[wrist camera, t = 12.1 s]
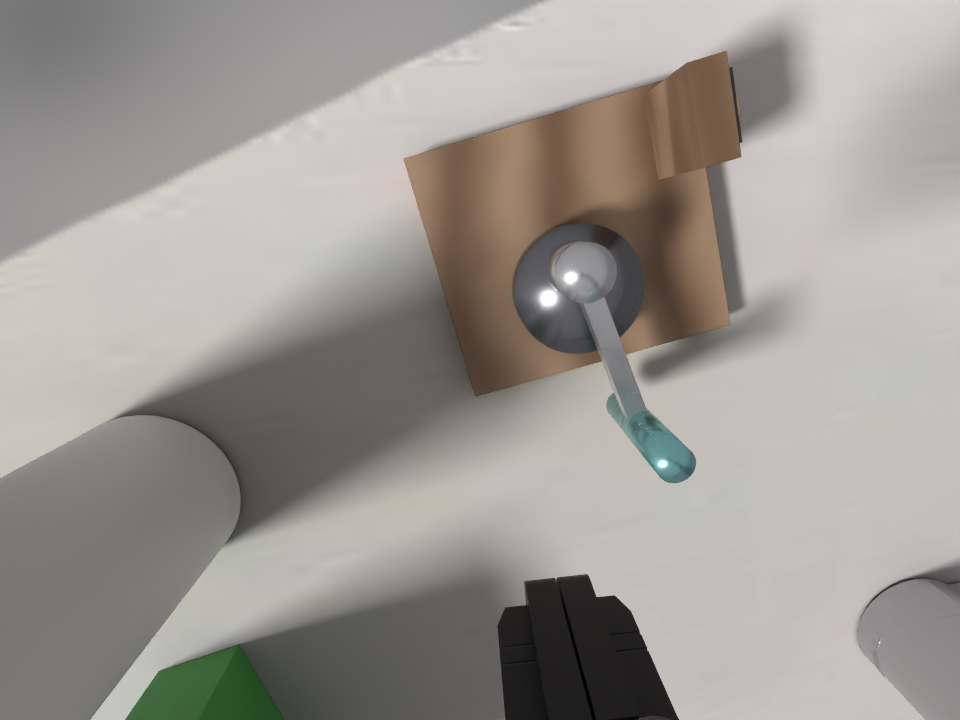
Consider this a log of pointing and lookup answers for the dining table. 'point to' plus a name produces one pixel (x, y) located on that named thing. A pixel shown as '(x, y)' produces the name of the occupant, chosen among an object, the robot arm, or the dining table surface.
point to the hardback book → (207, 691)
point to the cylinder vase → (102, 557)
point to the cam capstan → (596, 323)
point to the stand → (584, 213)
